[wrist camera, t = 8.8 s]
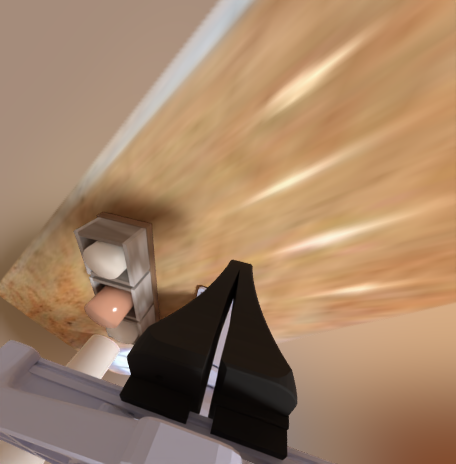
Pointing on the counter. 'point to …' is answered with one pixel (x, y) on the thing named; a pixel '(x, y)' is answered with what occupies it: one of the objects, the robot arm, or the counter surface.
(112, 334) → the knob
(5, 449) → the cylindrical container
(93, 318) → the middle knob
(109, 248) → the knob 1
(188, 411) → the robot arm
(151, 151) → the counter surface
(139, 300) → the mount
